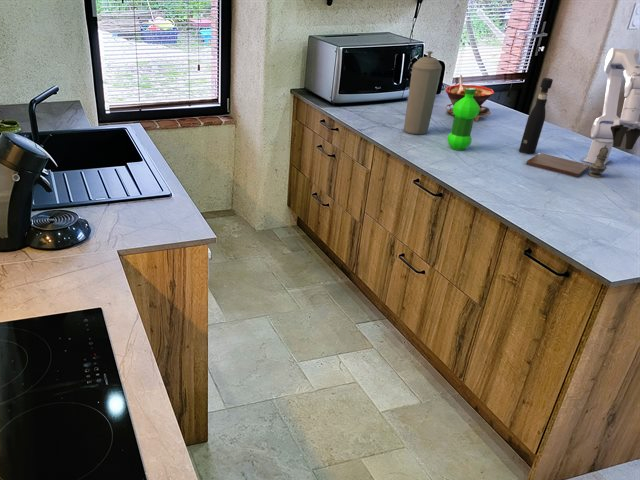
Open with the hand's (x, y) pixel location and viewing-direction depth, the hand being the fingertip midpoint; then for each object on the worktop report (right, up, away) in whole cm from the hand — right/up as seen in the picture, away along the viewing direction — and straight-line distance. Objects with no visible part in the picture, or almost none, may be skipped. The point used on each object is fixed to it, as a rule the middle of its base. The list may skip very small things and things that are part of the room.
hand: (622, 147), depth 220 cm
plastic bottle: (-48, +9, +36) cm, 61 cm away
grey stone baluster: (-3, -8, +12) cm, 15 cm away
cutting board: (-14, -3, +19) cm, 24 cm away
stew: (-28, +39, +82) cm, 95 cm away
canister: (-61, +22, +55) cm, 85 cm away
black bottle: (-19, +7, +34) cm, 40 cm away
